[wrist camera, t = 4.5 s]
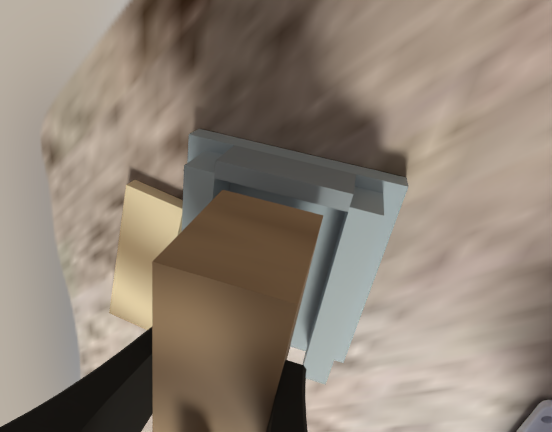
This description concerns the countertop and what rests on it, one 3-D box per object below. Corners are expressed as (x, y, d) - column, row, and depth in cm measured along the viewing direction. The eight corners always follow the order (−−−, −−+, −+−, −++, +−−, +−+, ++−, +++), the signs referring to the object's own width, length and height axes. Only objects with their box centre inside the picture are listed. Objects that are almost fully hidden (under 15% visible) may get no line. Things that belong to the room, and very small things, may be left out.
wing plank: (164, 319, 23) (154, 333, 22) (121, 300, 23) (109, 312, 22) (194, 199, 18) (183, 209, 17) (140, 176, 18) (126, 184, 17)
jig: (344, 348, 20) (340, 396, 17) (189, 300, 21) (162, 339, 18) (406, 177, 15) (412, 209, 12) (199, 128, 16) (164, 147, 13)
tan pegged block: (282, 376, 16) (232, 560, 10) (206, 352, 16) (120, 514, 11) (323, 215, 12) (279, 370, 6) (222, 189, 12) (102, 313, 7)
